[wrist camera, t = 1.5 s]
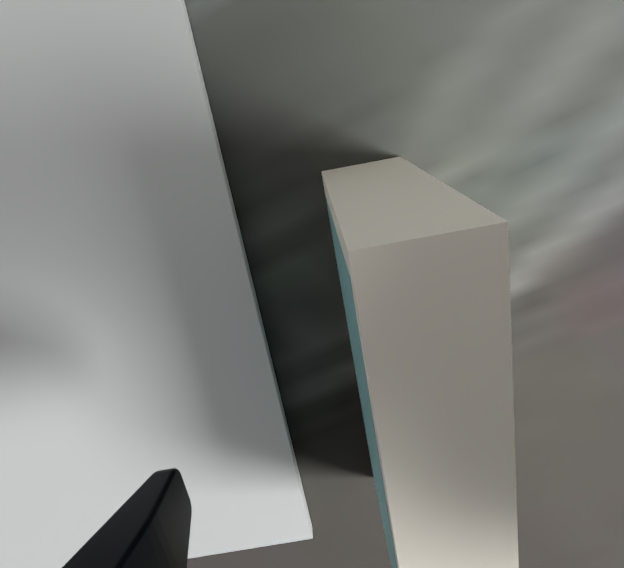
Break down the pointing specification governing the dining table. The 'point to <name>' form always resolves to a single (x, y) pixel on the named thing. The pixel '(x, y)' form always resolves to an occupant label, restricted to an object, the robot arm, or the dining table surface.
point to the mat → (126, 292)
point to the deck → (430, 360)
